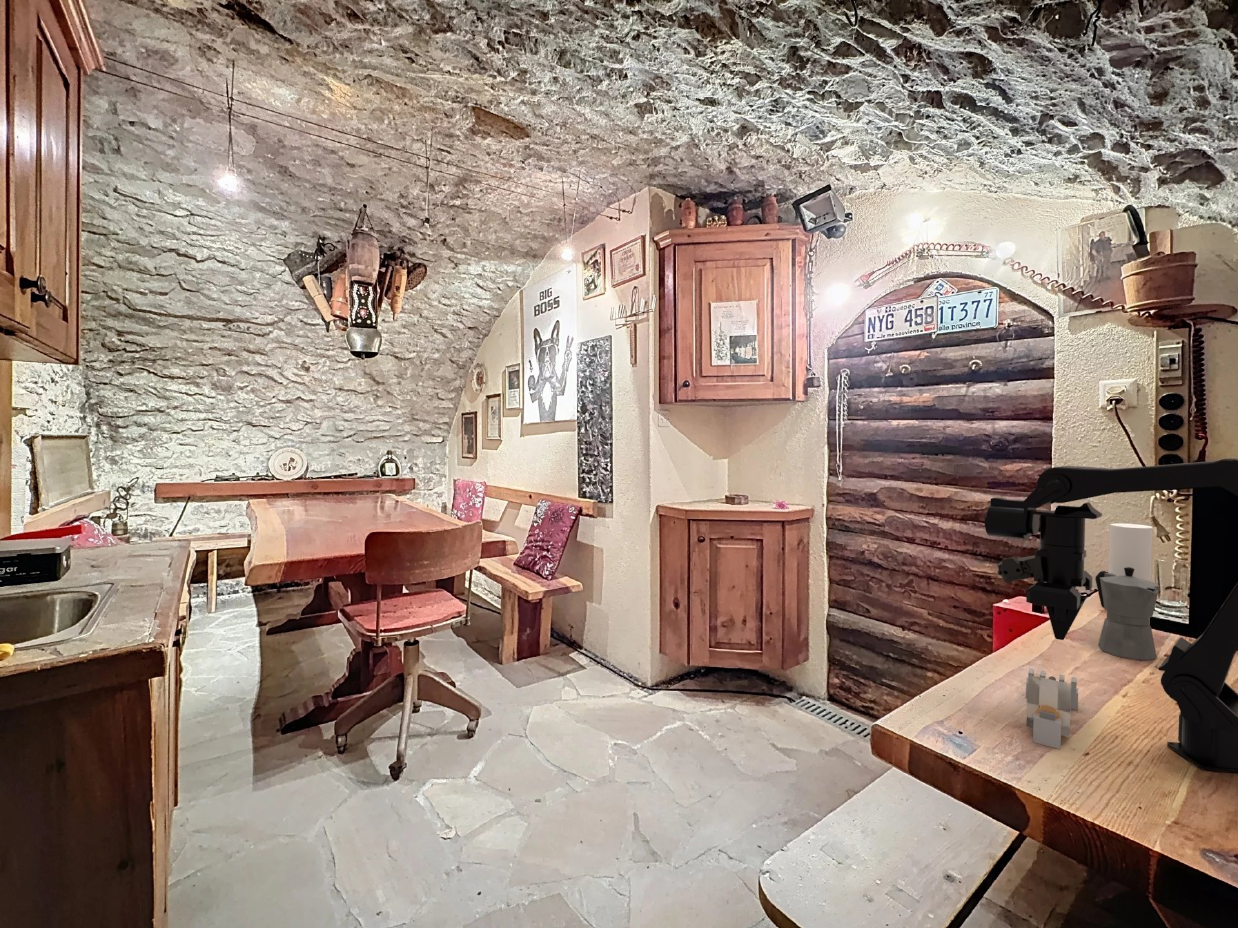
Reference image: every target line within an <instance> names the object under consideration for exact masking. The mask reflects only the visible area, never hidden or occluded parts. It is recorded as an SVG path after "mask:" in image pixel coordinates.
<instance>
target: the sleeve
mask: <svg viewBox="0 0 1238 928" xmlns="http://www.w3.org/2000/svg"><path fill="white" fill-rule="evenodd" d="M1041 706H1049V707H1051V708H1053V709H1055V710H1056V711H1057V712H1058V714H1059V717H1060V719H1061V737H1062V736H1063V737H1067V738H1070V736H1071V709H1070V708H1071V682H1070V683H1068V682H1060V681H1059V680H1056V681H1055V680H1050V679H1049V678H1047V677H1046V678H1041V677H1040V676H1036V675H1034V676H1031V675H1029V679H1028V683H1027V699H1026V722H1025V723H1026V725H1025V727H1027V728H1031V729H1033V721H1034V712H1035V713H1036V711H1037V709H1038V708H1039V707H1041Z"/></svg>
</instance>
